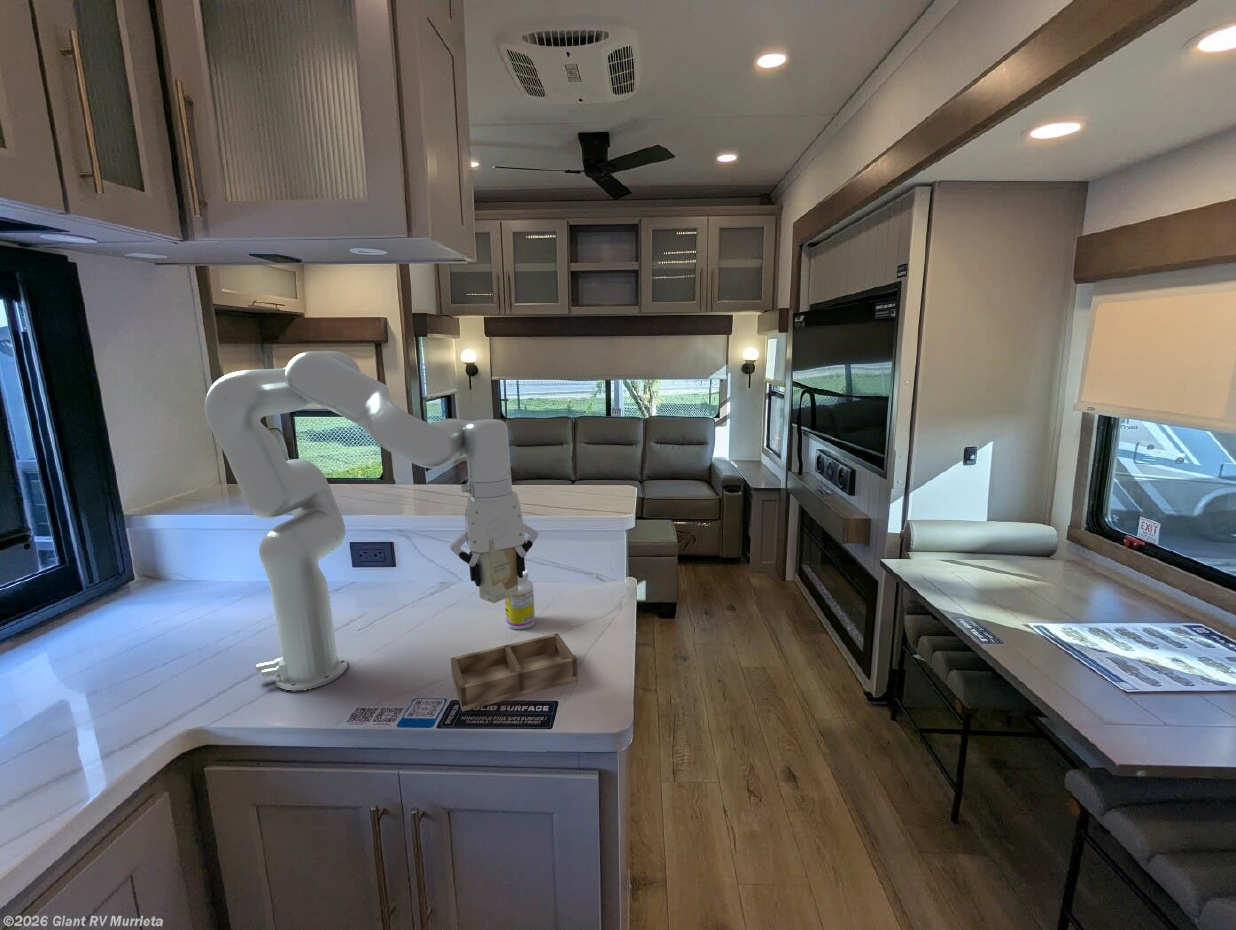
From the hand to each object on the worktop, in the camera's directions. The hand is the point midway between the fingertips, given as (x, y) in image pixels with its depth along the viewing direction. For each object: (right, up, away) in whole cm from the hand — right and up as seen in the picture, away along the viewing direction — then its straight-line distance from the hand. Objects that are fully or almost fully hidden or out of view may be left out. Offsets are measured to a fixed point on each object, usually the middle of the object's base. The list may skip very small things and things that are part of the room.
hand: (498, 578), depth 106 cm
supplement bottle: (0, -16, +26) cm, 30 cm away
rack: (+2, -20, +3) cm, 21 cm away
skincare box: (0, -3, +1) cm, 4 cm away
